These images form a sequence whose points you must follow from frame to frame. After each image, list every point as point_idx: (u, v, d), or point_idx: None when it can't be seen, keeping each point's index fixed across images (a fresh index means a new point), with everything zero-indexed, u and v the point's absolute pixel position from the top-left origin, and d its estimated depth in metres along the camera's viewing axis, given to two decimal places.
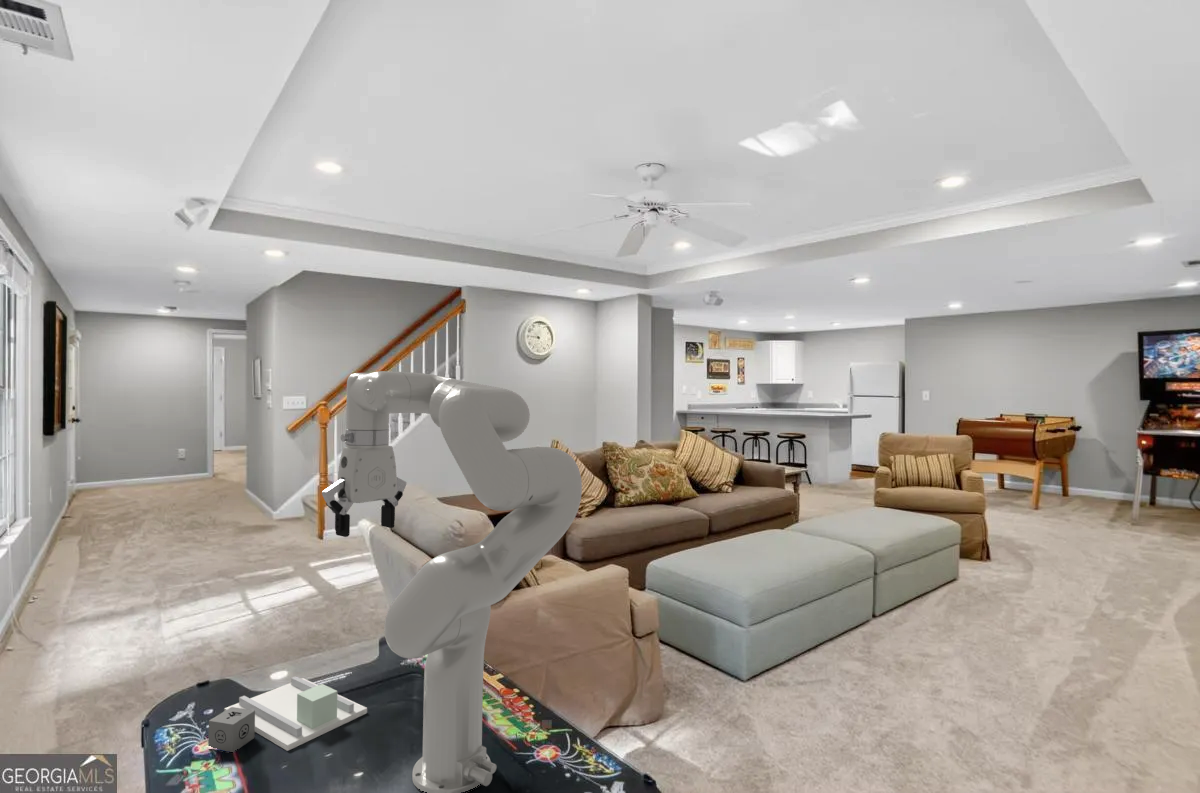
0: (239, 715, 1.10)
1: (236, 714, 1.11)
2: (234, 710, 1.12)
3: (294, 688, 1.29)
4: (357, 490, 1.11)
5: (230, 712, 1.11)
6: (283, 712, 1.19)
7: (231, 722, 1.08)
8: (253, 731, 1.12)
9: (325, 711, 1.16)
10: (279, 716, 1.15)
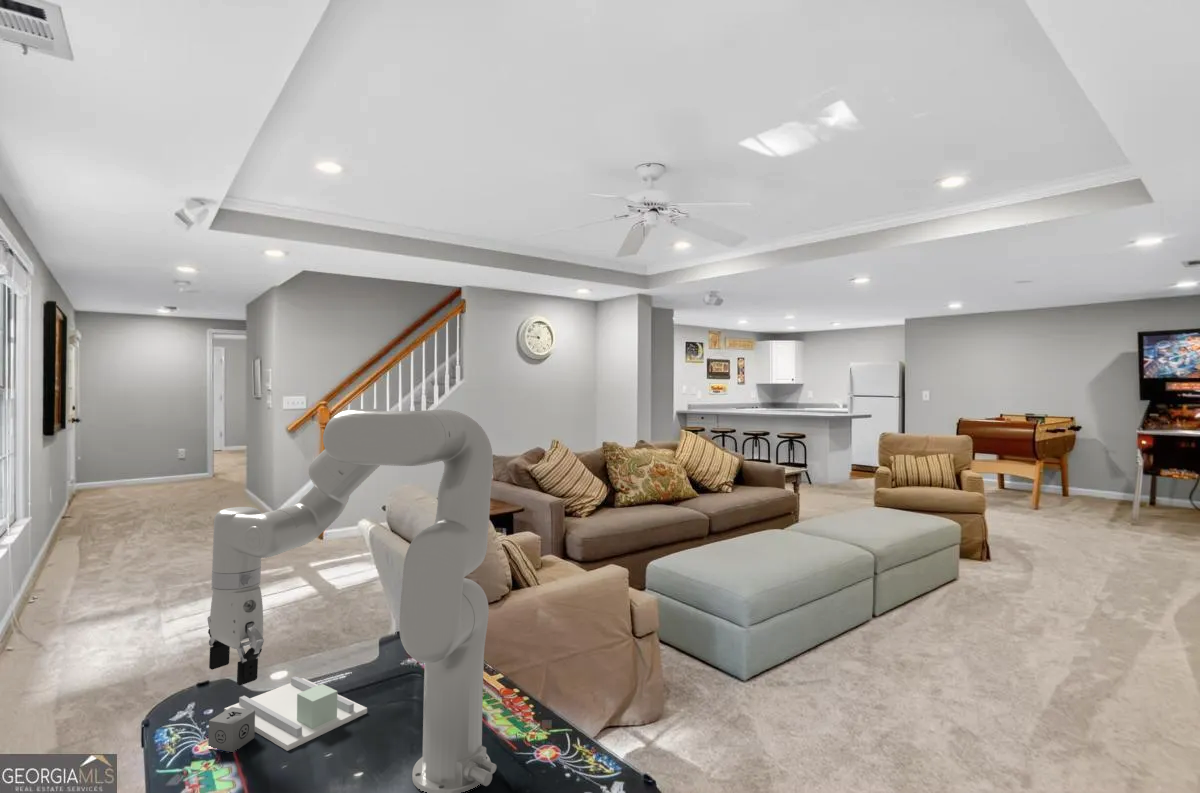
0: (239, 715, 1.10)
1: (236, 714, 1.11)
2: (234, 710, 1.12)
3: (294, 688, 1.29)
4: None
5: (230, 712, 1.11)
6: (283, 712, 1.19)
7: (231, 722, 1.08)
8: (253, 731, 1.12)
9: (325, 711, 1.16)
10: (279, 716, 1.15)
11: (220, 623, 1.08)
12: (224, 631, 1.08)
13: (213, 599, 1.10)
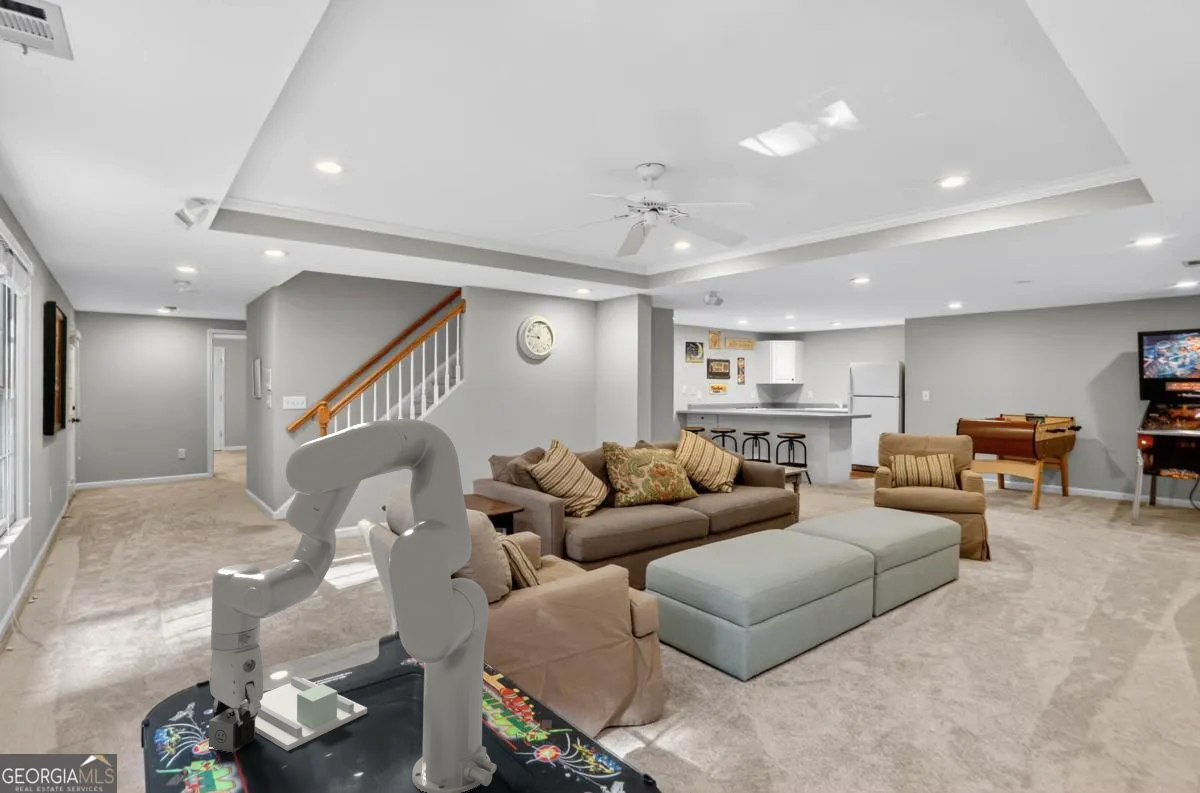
0: None
1: None
2: (234, 710, 1.12)
3: (294, 688, 1.29)
4: None
5: (230, 712, 1.11)
6: (283, 712, 1.19)
7: (231, 722, 1.08)
8: None
9: (325, 711, 1.16)
10: (279, 716, 1.15)
11: (220, 683, 1.09)
12: (224, 691, 1.08)
13: (213, 659, 1.10)
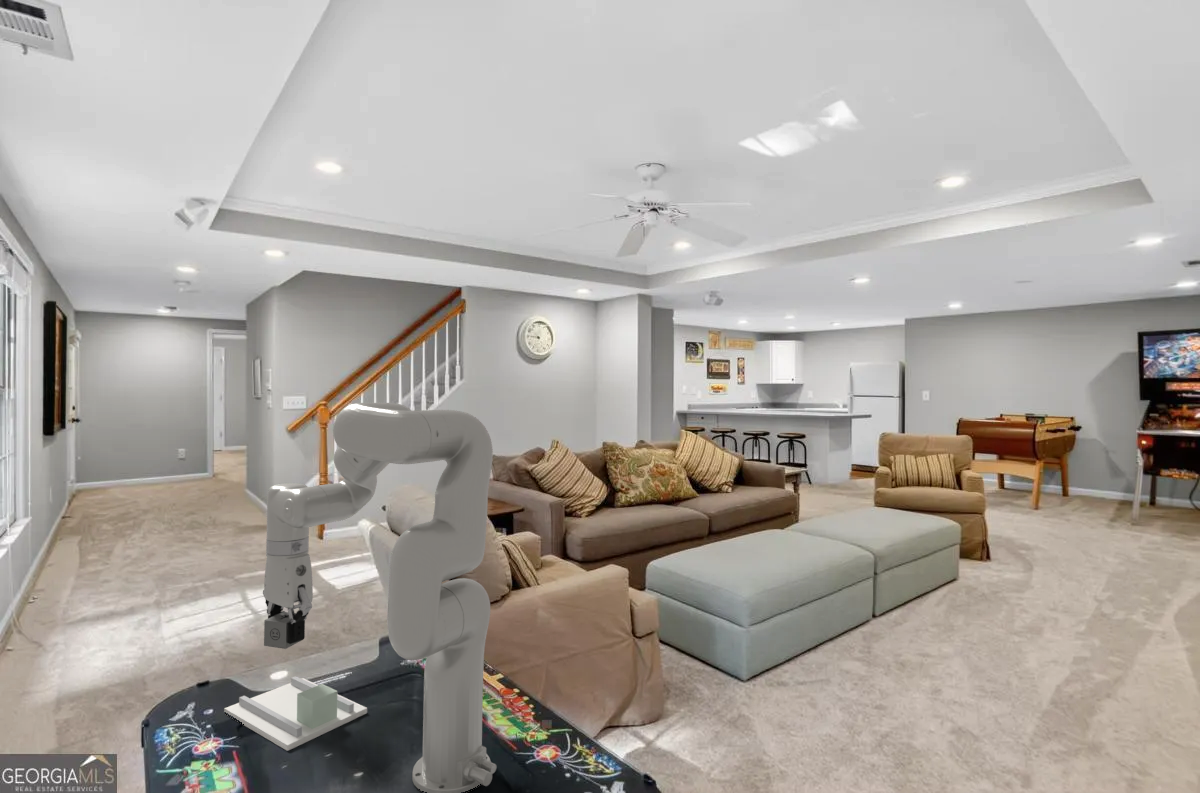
0: None
1: (288, 616, 1.23)
2: (286, 614, 1.25)
3: (294, 688, 1.29)
4: None
5: (282, 615, 1.24)
6: (283, 712, 1.19)
7: (284, 621, 1.21)
8: None
9: (325, 711, 1.16)
10: (279, 716, 1.15)
11: (274, 586, 1.21)
12: (278, 593, 1.21)
13: (267, 566, 1.23)
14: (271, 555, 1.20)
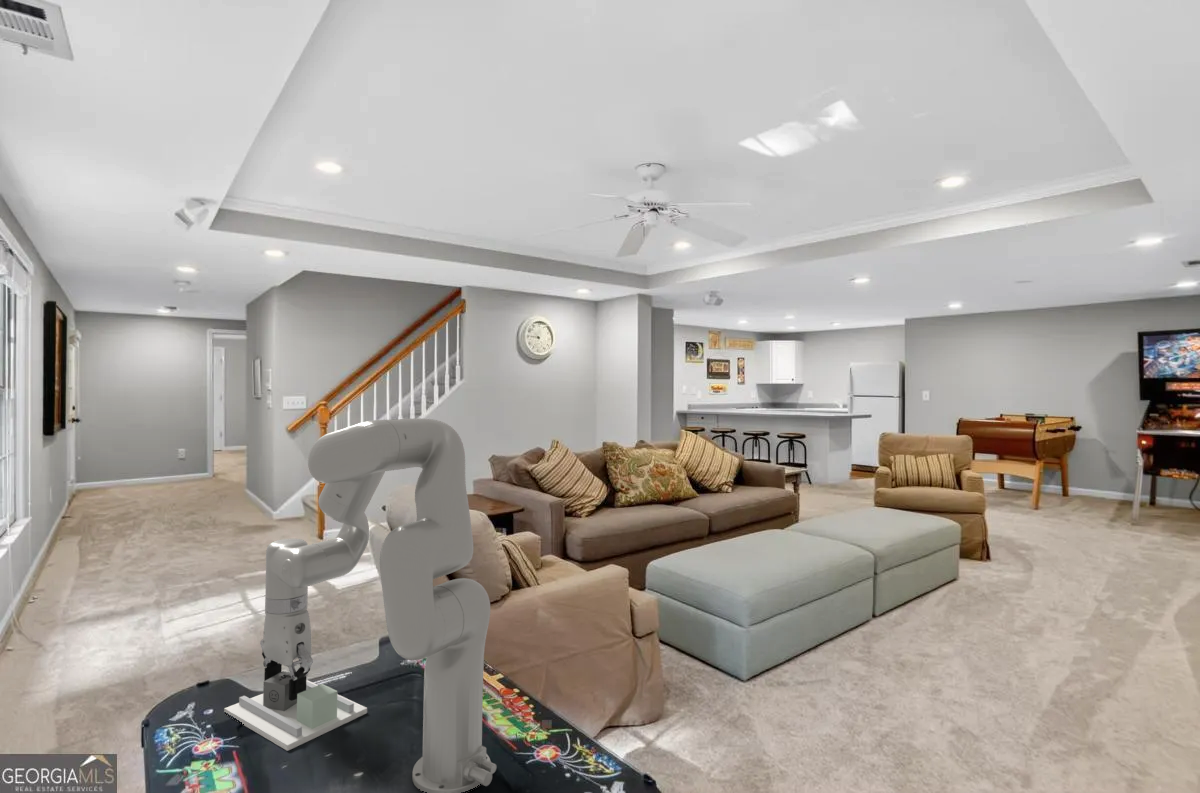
0: (290, 678, 1.23)
1: (287, 677, 1.23)
2: (285, 673, 1.25)
3: None
4: None
5: (282, 675, 1.24)
6: (283, 712, 1.19)
7: (283, 683, 1.20)
8: None
9: (325, 711, 1.16)
10: (279, 716, 1.15)
11: (273, 644, 1.21)
12: (277, 651, 1.21)
13: (266, 623, 1.23)
14: (270, 613, 1.20)
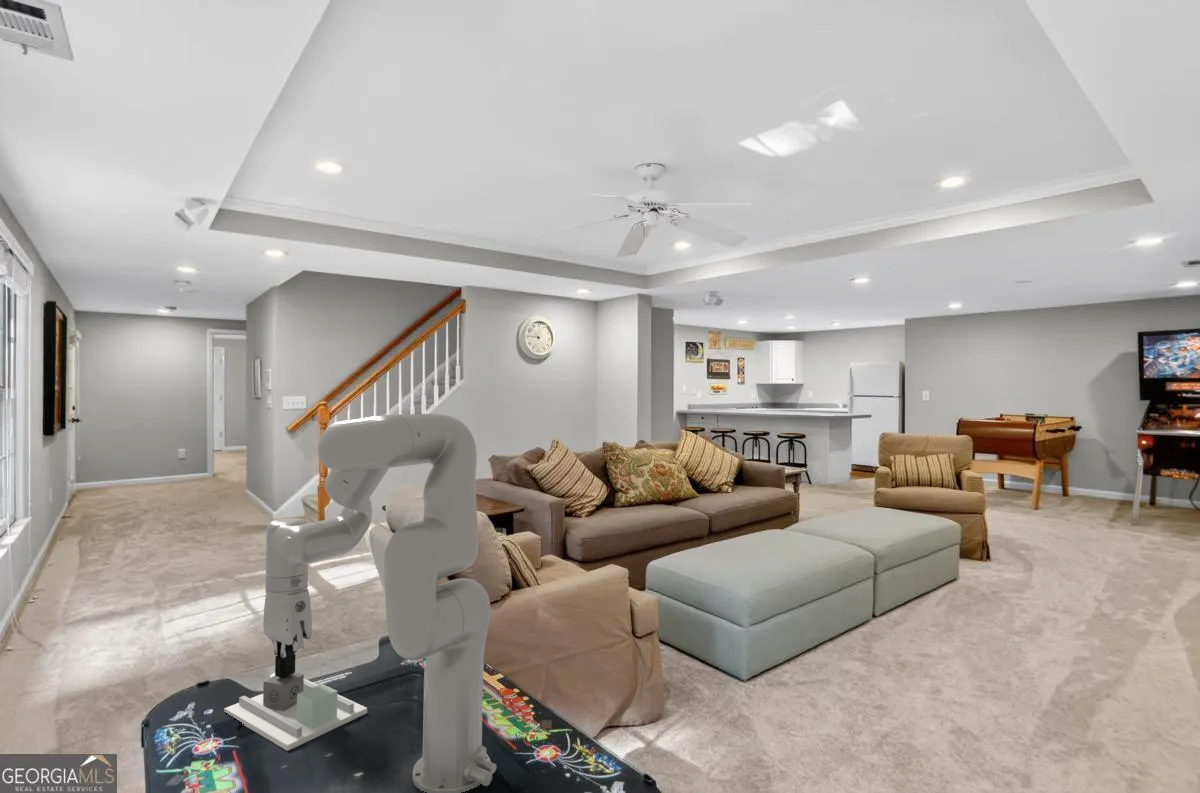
0: (290, 678, 1.23)
1: (287, 677, 1.23)
2: None
3: None
4: None
5: None
6: (283, 712, 1.19)
7: (283, 683, 1.20)
8: None
9: (325, 711, 1.16)
10: (279, 716, 1.15)
11: (274, 622, 1.21)
12: (278, 629, 1.21)
13: (267, 601, 1.23)
14: (270, 591, 1.20)
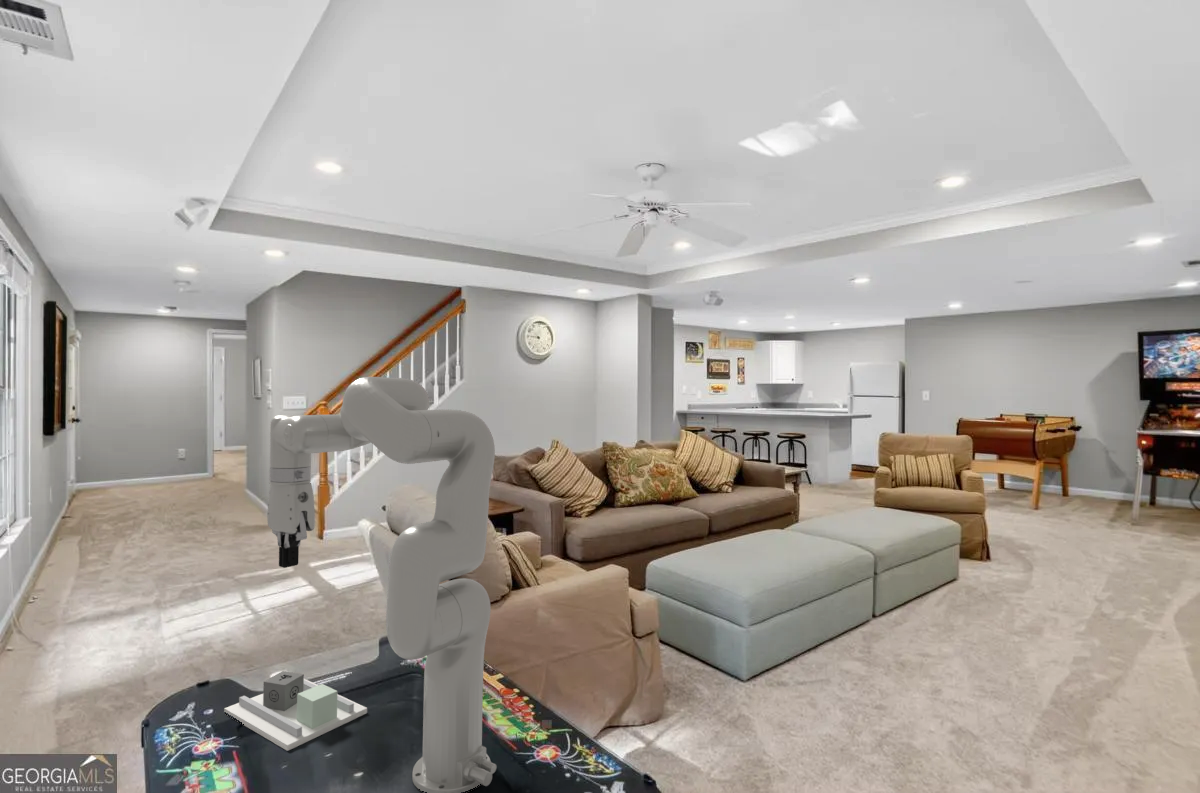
0: (290, 678, 1.23)
1: (287, 677, 1.23)
2: (285, 673, 1.25)
3: None
4: None
5: (282, 675, 1.24)
6: (283, 712, 1.19)
7: (283, 683, 1.20)
8: None
9: (325, 711, 1.16)
10: (279, 716, 1.15)
11: (277, 513, 1.25)
12: (281, 519, 1.24)
13: (271, 494, 1.26)
14: (274, 482, 1.23)
